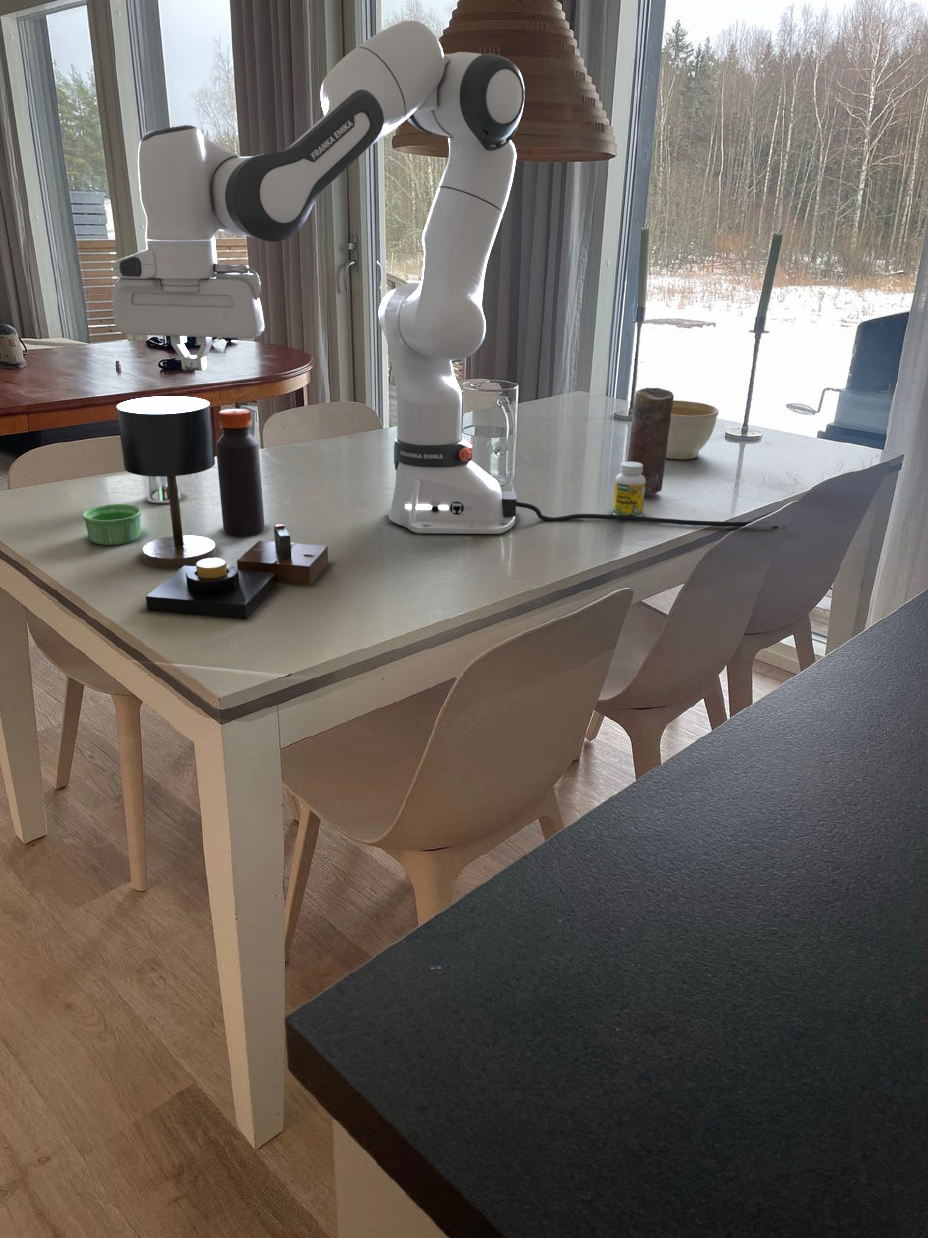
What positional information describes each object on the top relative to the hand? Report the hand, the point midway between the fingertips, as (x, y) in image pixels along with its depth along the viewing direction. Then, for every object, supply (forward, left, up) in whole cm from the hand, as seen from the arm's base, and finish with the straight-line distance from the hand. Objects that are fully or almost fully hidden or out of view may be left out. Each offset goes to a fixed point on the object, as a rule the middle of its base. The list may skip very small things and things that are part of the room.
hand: (194, 369), depth 129 cm
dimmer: (-11, -1, -29) cm, 31 cm away
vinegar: (+2, -18, -30) cm, 34 cm away
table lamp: (+7, -4, -29) cm, 30 cm away
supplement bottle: (-62, -41, -30) cm, 80 cm away
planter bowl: (-73, -90, -30) cm, 119 cm away
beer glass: (+23, -32, -30) cm, 49 cm away
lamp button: (-5, +11, -26) cm, 29 cm away
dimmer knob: (-11, -1, -26) cm, 28 cm away
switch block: (-5, +11, -29) cm, 32 cm away
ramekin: (+21, -10, -30) cm, 37 cm away
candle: (-65, -56, -30) cm, 90 cm away
